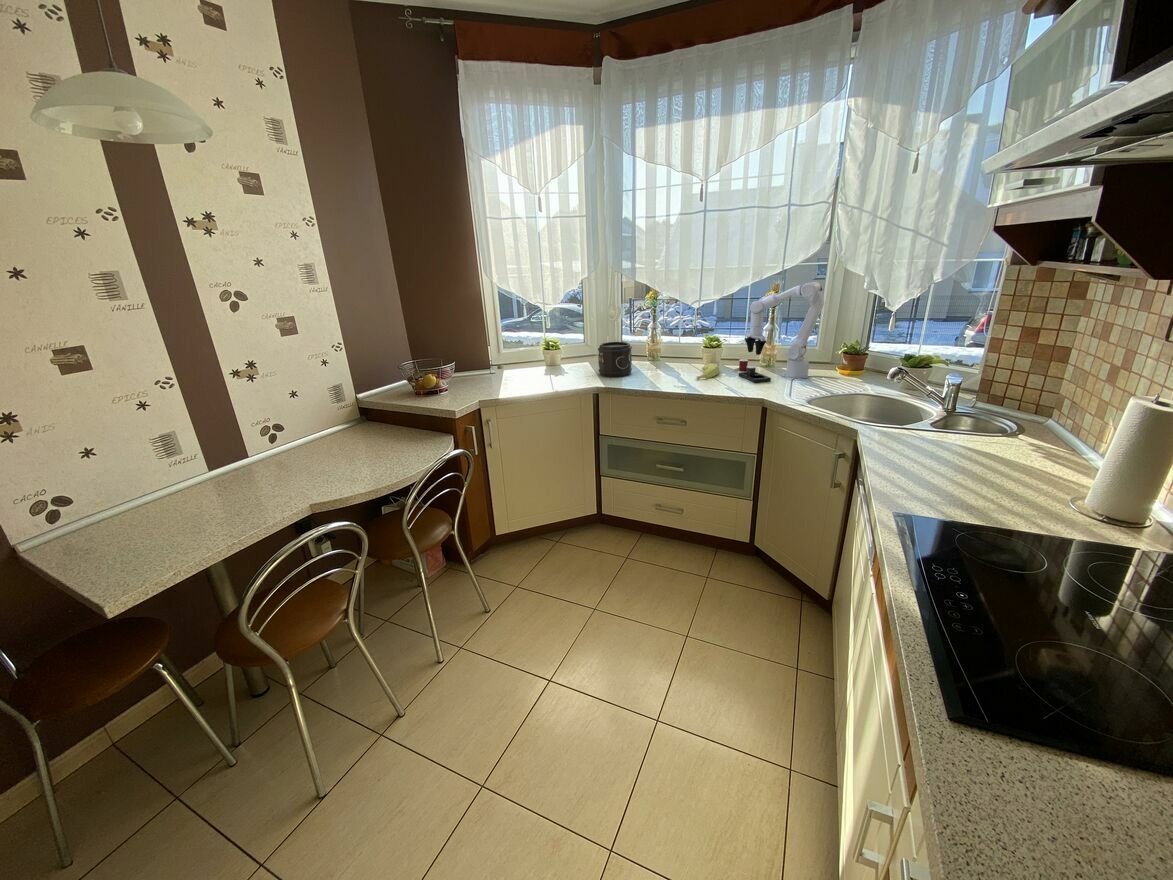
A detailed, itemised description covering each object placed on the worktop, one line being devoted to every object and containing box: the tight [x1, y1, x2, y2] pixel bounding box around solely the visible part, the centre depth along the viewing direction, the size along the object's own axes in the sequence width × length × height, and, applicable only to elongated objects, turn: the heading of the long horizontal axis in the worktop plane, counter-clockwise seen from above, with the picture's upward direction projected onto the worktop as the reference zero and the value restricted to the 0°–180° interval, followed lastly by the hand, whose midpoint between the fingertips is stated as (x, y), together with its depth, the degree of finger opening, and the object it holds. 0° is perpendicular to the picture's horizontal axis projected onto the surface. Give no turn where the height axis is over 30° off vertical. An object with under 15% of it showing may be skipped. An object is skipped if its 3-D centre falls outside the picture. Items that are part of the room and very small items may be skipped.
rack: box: [738, 371, 772, 384], centre depth 229 cm, size 15×8×2 cm, turn 12°
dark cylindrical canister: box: [597, 341, 633, 378], centre depth 252 cm, size 18×18×16 cm
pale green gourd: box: [696, 362, 720, 381], centre depth 241 cm, size 14×6×20 cm
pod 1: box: [738, 358, 749, 371], centre depth 246 cm, size 4×4×5 cm
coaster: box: [734, 367, 747, 373], centre depth 247 cm, size 8×8×1 cm
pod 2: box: [746, 365, 757, 375], centre depth 231 cm, size 4×4×5 cm
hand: (754, 353), depth 240 cm, fingers open, 7 cm apart
